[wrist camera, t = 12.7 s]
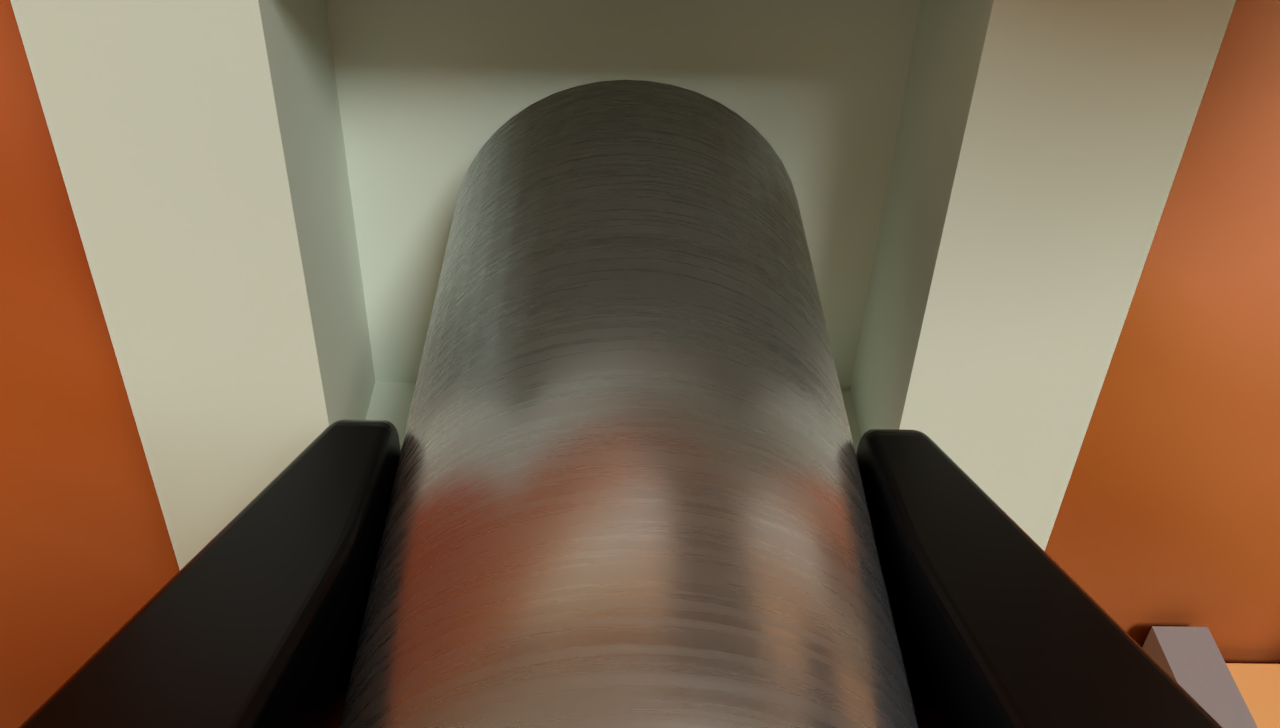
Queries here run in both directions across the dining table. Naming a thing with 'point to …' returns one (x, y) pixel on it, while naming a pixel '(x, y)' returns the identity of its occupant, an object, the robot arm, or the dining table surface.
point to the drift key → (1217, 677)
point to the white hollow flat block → (581, 54)
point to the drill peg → (627, 449)
